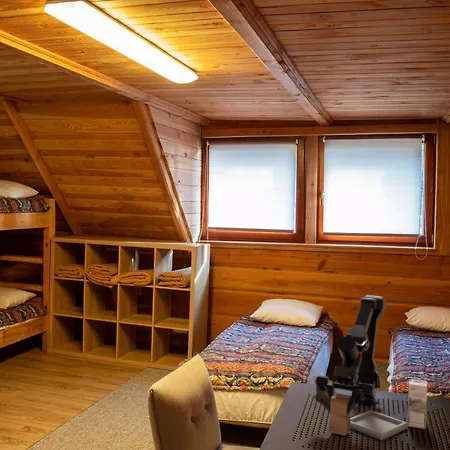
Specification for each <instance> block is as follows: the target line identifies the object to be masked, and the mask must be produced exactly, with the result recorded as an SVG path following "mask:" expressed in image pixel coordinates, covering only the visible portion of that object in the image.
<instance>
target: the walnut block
mask: <svg viewBox="0 0 450 450" xmlns="http://www.w3.org/2000/svg"><path fill="white" fill-rule="evenodd" d="M350 399H351V395H348V394H343V393H337V392H335V394H334V395H333V396H332V397H331V403H330V406H329V411H330V413H329V432H330V433H332V434H337V435H341V436H347V434H348V433H349V432H350V430H351V428H350V418H351V412H352V411H351V412H350V413H349V414H347V408H348V405H349V402H350Z"/></svg>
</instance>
